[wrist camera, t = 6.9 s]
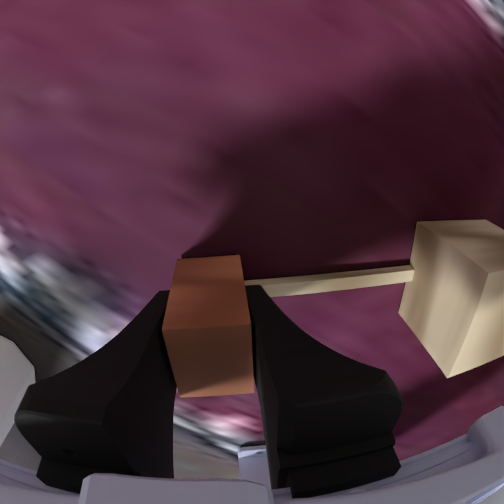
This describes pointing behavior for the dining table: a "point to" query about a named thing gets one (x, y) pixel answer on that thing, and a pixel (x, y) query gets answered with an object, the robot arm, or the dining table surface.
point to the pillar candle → (19, 450)
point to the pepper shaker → (12, 383)
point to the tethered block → (412, 305)
